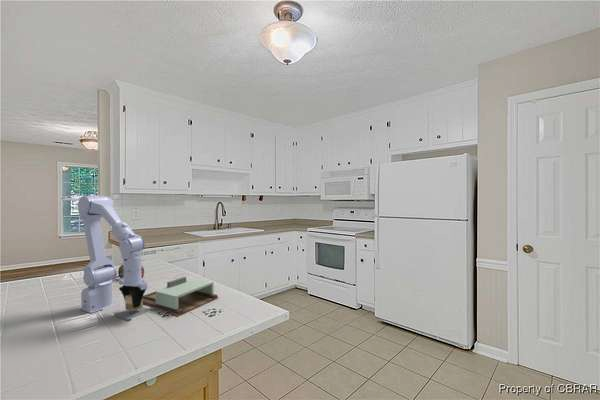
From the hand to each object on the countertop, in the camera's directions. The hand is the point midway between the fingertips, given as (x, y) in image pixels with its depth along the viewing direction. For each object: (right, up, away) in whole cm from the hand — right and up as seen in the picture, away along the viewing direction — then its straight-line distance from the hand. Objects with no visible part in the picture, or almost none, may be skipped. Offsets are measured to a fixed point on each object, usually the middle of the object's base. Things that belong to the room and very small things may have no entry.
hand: (133, 305), depth 103 cm
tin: (-26, -3, +41) cm, 48 cm away
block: (0, -1, 0) cm, 1 cm away
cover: (+16, -1, +10) cm, 18 cm away
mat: (0, -3, 0) cm, 3 cm away
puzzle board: (+9, -3, +13) cm, 16 cm away
